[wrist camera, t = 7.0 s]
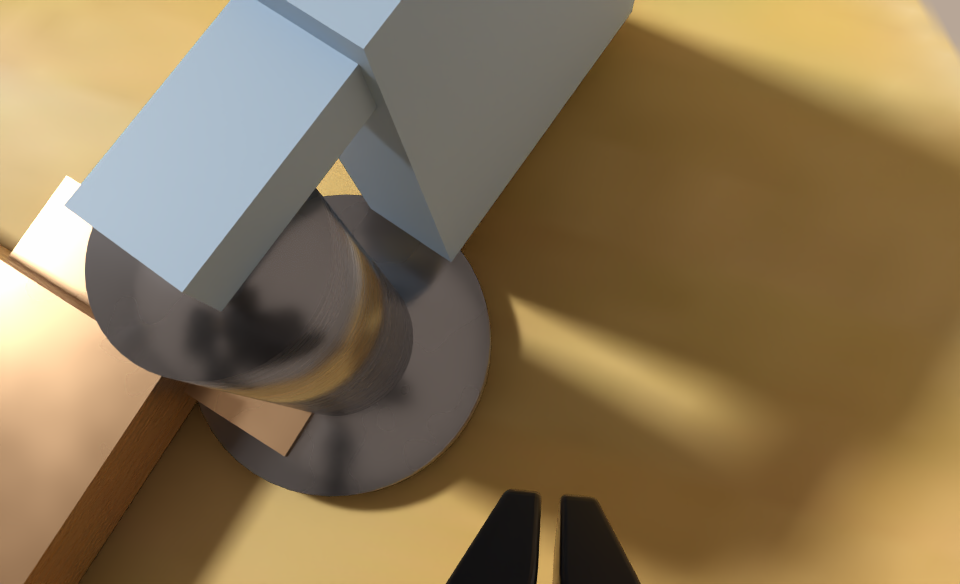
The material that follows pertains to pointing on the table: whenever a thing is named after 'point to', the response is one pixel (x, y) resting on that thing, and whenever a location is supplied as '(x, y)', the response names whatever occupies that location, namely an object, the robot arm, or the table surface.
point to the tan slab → (223, 370)
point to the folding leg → (337, 124)
